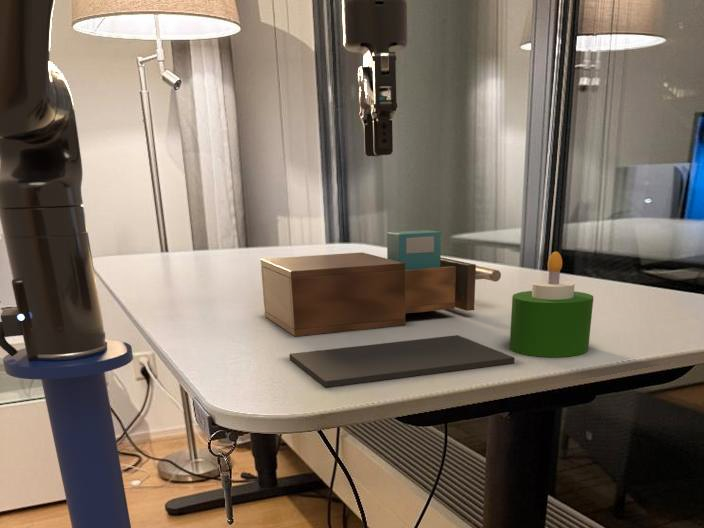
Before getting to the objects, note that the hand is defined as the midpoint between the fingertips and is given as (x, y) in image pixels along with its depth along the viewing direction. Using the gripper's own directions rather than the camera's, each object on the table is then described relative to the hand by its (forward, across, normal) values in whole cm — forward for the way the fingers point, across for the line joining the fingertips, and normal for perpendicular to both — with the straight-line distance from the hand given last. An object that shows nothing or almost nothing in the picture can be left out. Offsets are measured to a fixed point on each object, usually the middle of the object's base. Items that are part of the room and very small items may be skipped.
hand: (378, 155), depth 90 cm
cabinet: (+20, +2, -7) cm, 21 cm away
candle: (+20, +23, +15) cm, 34 cm away
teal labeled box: (+18, -1, +4) cm, 18 cm away
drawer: (+19, -1, +6) cm, 20 cm away
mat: (+20, +26, -2) cm, 32 cm away
